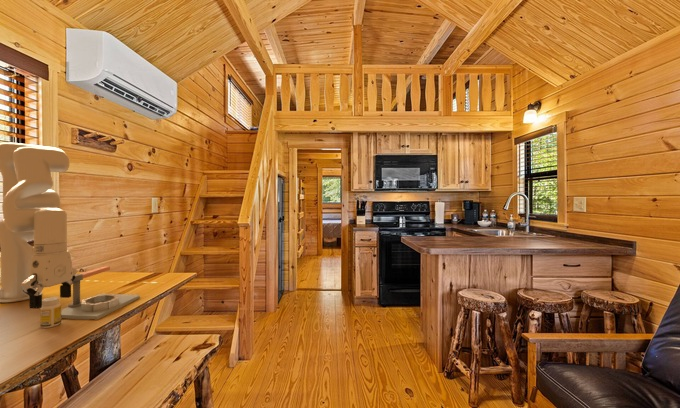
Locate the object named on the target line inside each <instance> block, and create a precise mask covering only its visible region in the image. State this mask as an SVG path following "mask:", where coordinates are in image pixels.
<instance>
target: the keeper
mask: <svg viewBox="0 0 680 408" xmlns="http://www.w3.org/2000/svg"><path fill="white" fill-rule="evenodd" d="M110 267H111V266H108V265H106V266H100V267H97V268H93V269H90V270H88V271H84V272H81V273H76V276H75V279H74V280H73V282H75V281H80V282H81V281H83V280H84V279H86V278H89V277H92V276H95V275H99V274H102V273H105V272H107V271H110V270H111V268H110Z"/></svg>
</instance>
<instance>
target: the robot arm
mask: <svg viewBox="0 0 680 408" xmlns="http://www.w3.org/2000/svg"><path fill="white" fill-rule="evenodd" d="M69 168H70V158H69V156H68V154H67V153H66V152H65V151H64V150H62V149H61V148H57V147H53V146H44V145H35V144H30V143H29V144H27V143H18V142H1V143H0V174H1V176H2V203H1V204H2V205H1V208H2V209H1V210H2V215H3V219H1V220H0V273H1V274H0V283H1V284H0V303H13V302H15V303H16V302H20V301H27V300H29V309H33V310H34V309H39V310H40V308H41V307H42V306H43V305H42V300H43V296H42V294H43V290H44V288H52V287H54V286H57V285H59V298H61V299H62V298H63V299H69V298H71V297H72V286H73V280H74V279H75V276H76V274H78V269H75V268H73V262H72V256H71V253H70V250H68V217H67V212H66V210H64V209H62V208H61V198H60V195H59V193H58V192H57V191H55V190H53V189H51V188H53V185H54V182H53V178H52V174H51V173H66V172H67V171H68V170H69ZM29 241H33V246H32V245H31V244H29V243H28V242H29ZM60 284H61V285H60Z"/></svg>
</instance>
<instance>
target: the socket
mask: <svg viewBox="0 0 680 408" xmlns="http://www.w3.org/2000/svg"><path fill="white" fill-rule="evenodd" d="M104 294H105V295H98V294H97V295H98V296H96V295H93V296H90V297H86V298H85V299H82V300H80V301H81V311H85V312H96V311H102V310H107V309H110V308H113V307H115V306H117V305H118V295H112V294H113V293H104Z"/></svg>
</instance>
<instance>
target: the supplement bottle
mask: <svg viewBox="0 0 680 408" xmlns="http://www.w3.org/2000/svg"><path fill="white" fill-rule="evenodd" d="M39 310H40V312H39V313H40V314H39V317H40V322H39V323H40V327H41V328H42V329H47V328H48V329H49V328H53V327H56V326H59V325H60V324H61V323H62V318H61V310H62V304H61V302H60V296H51V297H47V298H42V307H41V308H39Z"/></svg>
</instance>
